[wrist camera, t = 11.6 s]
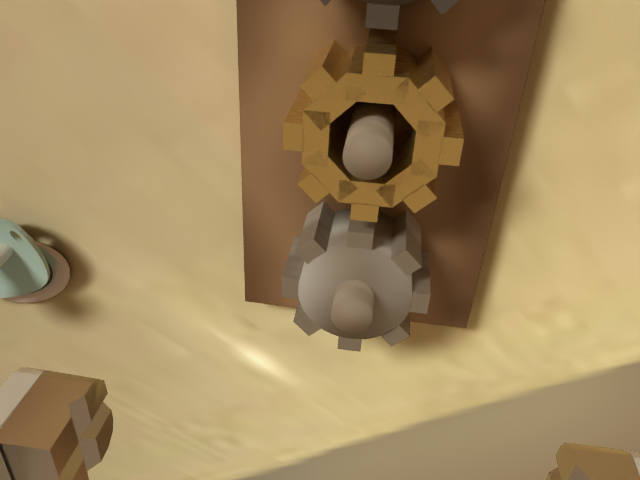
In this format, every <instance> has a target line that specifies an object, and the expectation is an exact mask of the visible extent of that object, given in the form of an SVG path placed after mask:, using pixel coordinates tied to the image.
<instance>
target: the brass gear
mask: <svg viewBox="0 0 640 480" xmlns="http://www.w3.org/2000/svg"><path fill="white" fill-rule="evenodd" d="M397 37H398V29H397V30H388V29H376V28H370V32H369V35H368V39H367V43H366V45H355V46H354V47H353V48H352V49H351V50H350V51H349V52H348V53H346V52H345V51H344V49H343V48H342V47H341V46H340V45H339V44H338V42H337V41H336V40H335V39H334V40H333V41H332V42H331V43H330V44H329V45H328V46H327V47H325V48H324V49H323V50H322V51H321V52H320V53H319V54H318V55H317V56H316V57H315V58H314V60H313V62H312V64H311V66H310V68H309V70H308V71H307V73H306V75H305V77H304V79H303V81H302V83H301V85H300V87H301V88H302V89H300V91H299V93H298V95H297V97H296V99H295V101H294V103H293V104H292V106H291V108H290V110H289V112H288V114H287V116H286V118H285V120H284V122H283V150H293V151H302V163H301V164H302V165H303V166H304V167H303V170H302V173H301V176H300V178H299V181H298V185H299V186H300V187H301V188H302V190H303V191H304V192H305V193H306V194H307V195H308V196H309V197H310V198H311V199H312V200H313V201H314V202H315V203H317V202H318V201H320V200H321V199H322V198H324V197H325V196H326V195H328V194H329V193H330V194H331V195H332V196H333V197H334V198H335V199H336V200H337V201H338V202H342V203H351V215H350V220H358V221H368V222H377V219H378V210H379V206H381V207H390V208H393V207H394V206H395V205H397V204H398V203H400V202H401V201H404V202H405V203H406V205H407V206H408V207H409V208H410V209H411V210H412V211H413V212H414V213H416V212H417V211H419V210H420V209H422V208H423V207H425V206H426V205H428V204H429V203H431V202H432V201H434V200H435V199H437V190H436V178H437V172H438V166H439V164H440V165H451V166H459V163H460V158H461V153H462V147H463V142H464V136H463V131H462V126H461V121H460V116H459V111H458V105H457V102H451V101H453V100H454V95H453V90H452V85H451V79H450V74H449V69H448V67H447V65H446V64H445V63H444V61H443V60H442V59H441V58H440V56H439V55H438V54H437V52H436V51H435V50H434V49H433V47H431V48H430V49H428V50H427V51H426V52H425V53H424V54H422V55H421V56H420V57H419V58H416V57H415V56H414V54H413V53H412V52H411V51H410V49H404V48H397ZM357 101H358V102H369V103H381V104H392V105H394V106H395V107H396V108H397V109H398V110H399V112H400V113H401V114H402V115H403V116H404V118H405V119H406V120H407V121H408V122H409V123H410V125H411V127H410V128H408V129H407V130H406V131H404V132H403V133H402V134H400V135H399V136H398V137H396V138H395V139H394V141H393V156H392V163H391V166H390V168H389V169H388V171H387V172H386V173H385V174H384V175H382V176H381V177H379V178H376V179H372V180H364V179H360V178H357V177H355V176H353V175H352V174H351V173H350V172H349V171H348V170H347V169H346V167H345V165H344V163H343V150H344V146H345V142H346V138H347V134H348V129H347V128H346V127H345V126H344V125H343V124H342V122H341V121H340V120H339V116H340V115H341V114H342V113H343V112H345V111H346V110H347V109H348V108H349V107H351V106H352V105H353V104H354V103H355V102H357Z"/></svg>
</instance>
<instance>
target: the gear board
mask: <svg viewBox="0 0 640 480" xmlns="http://www.w3.org/2000/svg"><path fill="white" fill-rule="evenodd" d="M544 3H545V0H237V33H238V67H239V101H240V135H241V169H242V203H243V237H244V272H245V301H248V302H256V303H265V304H273V305H281V306H289V307H297V310H296V314H295V318H294V321H293V322H294V323H296V324H297V325H298V326H299V327H300V328H301V329H302V330H303V331H304V332H305V333H306V334H307V335H309V336H310V335H311V334H313V333H315V332H316V331H318V330H319V329H321V328H322V329H323V330H325V331H327V332H329V333H331V334H334V335H336V336H339V339H338V349H344V350H351V351H359V352H360V350H361V341H362V339H368V338H374V337H378V336H381V337H382V338H383V339H384V340H385V341H386V342H387V343H388V344H389V345H390V346H393V345H394V344H396V343H398V342H400V341H402V340H404V339H405V338H407V337H409V336H410V321H412V322H420V323H428V324H436V325H445V326H453V327H461V328H466V327H467V322H468V318H469V314H470V310H471V306H472V302H473V298H474V293H475V289H476V285H477V281H478V277H479V273H480V269H481V264H482V260H483V256H484V252H485V248H486V244H487V240H488V235H489V231H490V227H491V223H492V219H493V215H494V211H495V206H496V202H497V198H498V194H499V190H500V186H501V182H502V177H503V173H504V169H505V165H506V161H507V157H508V152H509V148H510V144H511V140H512V136H513V132H514V128H515V123H516V119H517V115H518V111H519V107H520V103H521V99H522V94H523V90H524V86H525V82H526V78H527V74H528V70H529V65H530V61H531V57H532V53H533V49H534V45H535V41H536V36H537V32H538V28H539V24H540V20H541V16H542V12H543V7H544ZM370 28H376V29H388V30H397V29H398V37H397V48H404V49H410V51H411V52H412V53H413V54H414V56H415V57H416V58H419V57H420V56H421V55H422V54H424V53H425V52H426V51H427V50H428V49H430V48H431V47H433V49H434V50H435V51H436V52H437V54H438V55H439V56H440V58H441V59H442V60H443V61H444V63H445V64H446V65H447V67H448V69H449V74H450V79H451V85H452V90H453V95H454V100H453V101H451V102H457V105H458V111H459V116H460V121H461V126H462V131H463V136H464V142H463V147H462V153H461V158H460V163H459V166H451V165H440V164H439V166H438V172H437V178H436V190H437V199H435V200H434V201H432V202H431V203H429V204H428V205H426V206H425V207H423V208H422V209H420V210H419V211H417V212H416V213H414V212H413V211H412V210H411V209H410V208H409V207H408V206H407V205H406V203H405V202H404V201H401V202H400V203H398V204H397V205H395V206H394V207H393V208H390V207H381V206H379V210H378V219H377V222H368V221H358V220H350V215H351V203H342V202H338V201H337V200H336V199H335V198H334V197H333V196H332V195H331V194H330V193H329V194H328V195H326V196H325V197H324V198H322V199H321V200H320V201H318V202H317V203H315V202H314V201H313V200H312V199H311V198H310V197H309V196H308V195H307V194H306V193H305V192H304V191H303V190H302V188H301V187H300V186H299V185H298V181H299V178H300V176H301V173H302V170H303V167H304V166H303V165H302V164H301V163H302V151H293V150H283V122H284V120H285V118H286V116H287V114H288V112H289V110H290V108H291V106H292V104H293V103H294V101H295V99H296V97H297V95H298V93H299V91H300V89H302V88H301V87H300V85H301V83H302V81H303V79H304V77H305V75H306V73H307V71H308V70H309V68H310V66H311V64H312V62H313V60H314V58H315V57H316V56H317V55H318V54H319V53H320V52H321V51H322V50H323V49H324V48H325V47H327V46H328V45H329V44H330V43H331V42H332V41H333V40H334V39H335V40H336V41H337V42H338V44H339V45H340V46H341V47H342V48H343V49H344V51H345V52H346V53H348V52H349V51H350V50H351V49H352V48H353V47H354V46H355V45H366V43H367V39H368V35H369V32H370ZM339 120H340V121H341V122H342V124H343V125H344V126H345V127H346V128H347V129H348V134H347V138H346V142H345V146H344V150H343V163H344V165H345V167H346V169H347V170H348V171H349V172H350V173H351V174H352V175H353V176H355V177H357V178H360V179H364V180H372V179H376V178H379V177H381V176H382V175H384V174H385V173H386V172H387V171H388V169H389V168H390V166H391V163H392V156H393V141H394V139H395V138H396V137H398V136H399V135H400V134H402V133H403V132H404V131H406V130H407V129H408V128H410V127H411V125H410V123H409V122H408V121H407V120H406V119H405V118H404V116H403V115H402V114H401V113H400V112H399V110H398V109H397V108H396V107H395V106H394V105H392V104H381V103H369V102H358V101H357V102H355V103H354V104H353V105H352V106H351V107H349V108H348V109H347V110H346V111H345V112H343V113H342V114H341V115H340V116H339Z"/></svg>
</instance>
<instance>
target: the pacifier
mask: <svg viewBox="0 0 640 480" xmlns="http://www.w3.org/2000/svg"><path fill="white" fill-rule="evenodd" d="M47 262H48V263H49V265H50V266H51V268H52V270H53V278H52V280H51V281H50V282H49V283H47V281H48V280H49V277H50V270H49V266H48V263H47ZM69 279H70V267H69V265H68V263H67V261H66V259H65V258H64V257H63V256H62V255H61V254H60V253H59V252H57V251H56V250H54V249H52V248H51V247H49V246H46V245H43V244H41V243H37V242H36V241H35V239H34V238H33V237H31V236H30V235H28V234H27V233H26V232H25V231H24V230H23V229H22V228H21V227H20V226H19V225H17V224H16V223H14V222H13V221H11V220H8V219H4V218H1V219H0V298H2V299H5V300H8V301H13V302H22V303H31V302H38V301H43V300H46V299H49V298H51V297H53V296H55V295H57V294H58V293H60V292H61V291H62V290H63V289H64V288H65V287H66V286H67V284H68V281H69ZM46 283H47V284H46Z"/></svg>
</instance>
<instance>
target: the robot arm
mask: <svg viewBox="0 0 640 480" xmlns="http://www.w3.org/2000/svg"><path fill="white" fill-rule="evenodd" d="M106 395H107V389H106V386H105V382H104V380H100V379H95V378H89V377H83V376H77V375H71V374H65V373H59V372H53V371H46V370H40V369H33V368H27V367H21V368H20V369H18V370H16V371H14V372H13V373H12V374H11V375H10V377H9V378H8V379H7V380H6V382H5V383H4V384H3V385H2V387H1V388H0V480H89V478H88V473H87V471H88V470H89V469H91V468H92V467H94V466H95V465H97V464H98V463H100V462H101V461H102V459H103V457H104V455H105V453H106V451H107V449H108V447H109V443H110V439H111V436H112V432H113V416H112V411H111V409H110V408H109V407H108V406H107V405H106V404H105V403H104V402H103V400H104V399H105V397H106ZM556 459H557V463H558V468H556V469H555V470H553V471H551V472H549V474H548V477H547V479H546V480H640V453H639V452H631V451H624V450H620V449H613V448H605V447H597V446H589V445H580V444H572V443H564V444H563V445H561V446H560V448H559V450H558V452H557V455H556Z"/></svg>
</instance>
